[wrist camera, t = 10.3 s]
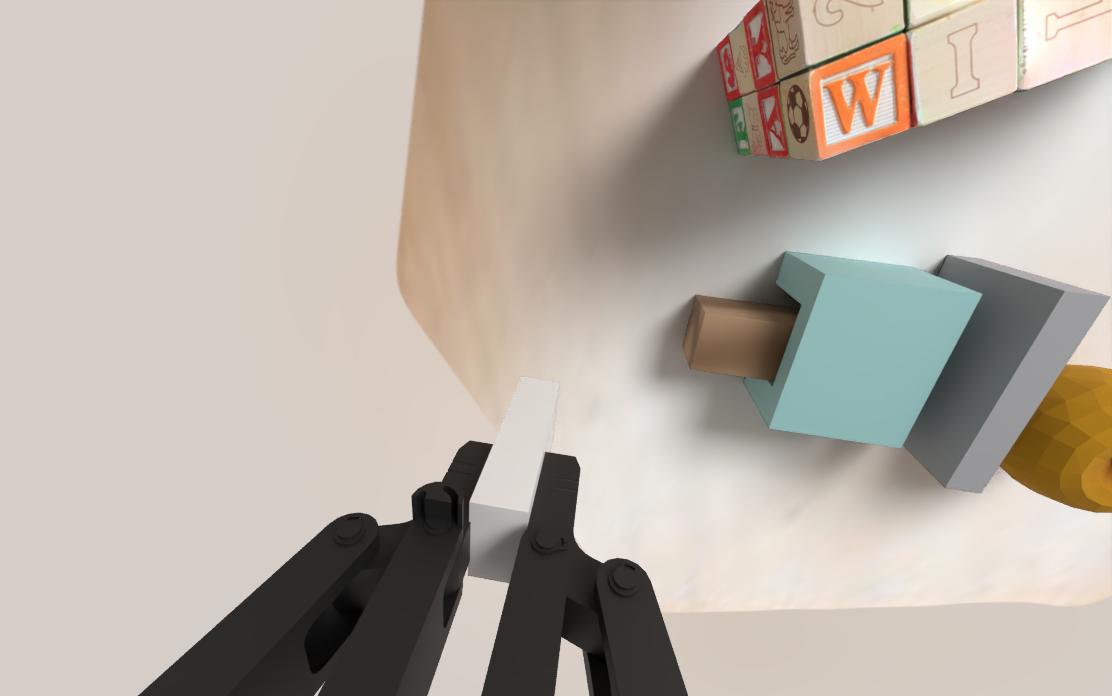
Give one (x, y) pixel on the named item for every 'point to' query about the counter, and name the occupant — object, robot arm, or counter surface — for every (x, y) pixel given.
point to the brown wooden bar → (738, 337)
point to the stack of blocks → (892, 65)
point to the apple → (1069, 442)
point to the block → (861, 348)
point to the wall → (997, 368)
